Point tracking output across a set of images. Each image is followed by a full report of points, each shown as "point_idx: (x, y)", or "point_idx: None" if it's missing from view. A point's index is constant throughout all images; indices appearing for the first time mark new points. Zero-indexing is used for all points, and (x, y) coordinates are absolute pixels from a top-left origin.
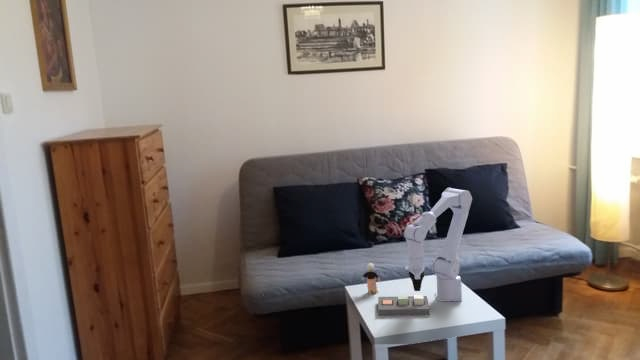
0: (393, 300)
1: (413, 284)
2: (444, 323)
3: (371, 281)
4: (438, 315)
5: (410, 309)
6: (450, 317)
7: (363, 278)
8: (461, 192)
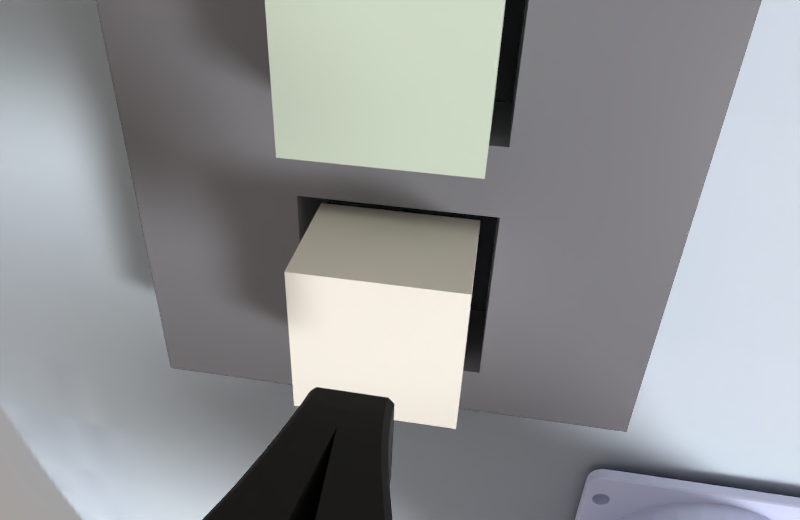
0: None
1: (210, 517)
2: (35, 388)
3: None
4: (211, 385)
5: (122, 119)
6: (177, 461)
7: None
8: None
